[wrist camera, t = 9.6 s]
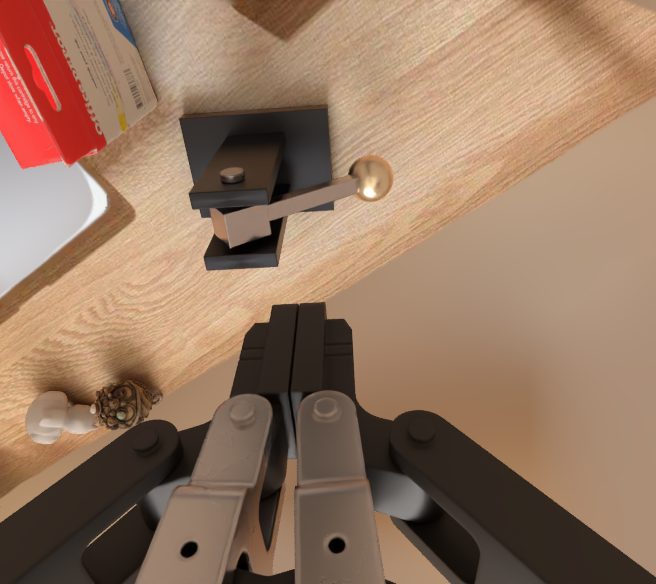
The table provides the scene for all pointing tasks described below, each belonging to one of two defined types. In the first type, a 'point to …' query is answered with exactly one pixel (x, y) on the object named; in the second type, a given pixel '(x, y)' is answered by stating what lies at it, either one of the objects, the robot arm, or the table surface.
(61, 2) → the ink box
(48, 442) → the white lobed figurine
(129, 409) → the pendant
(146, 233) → the table surface
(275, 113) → the lever base
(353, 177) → the lever with brass knob
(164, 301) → the table surface
